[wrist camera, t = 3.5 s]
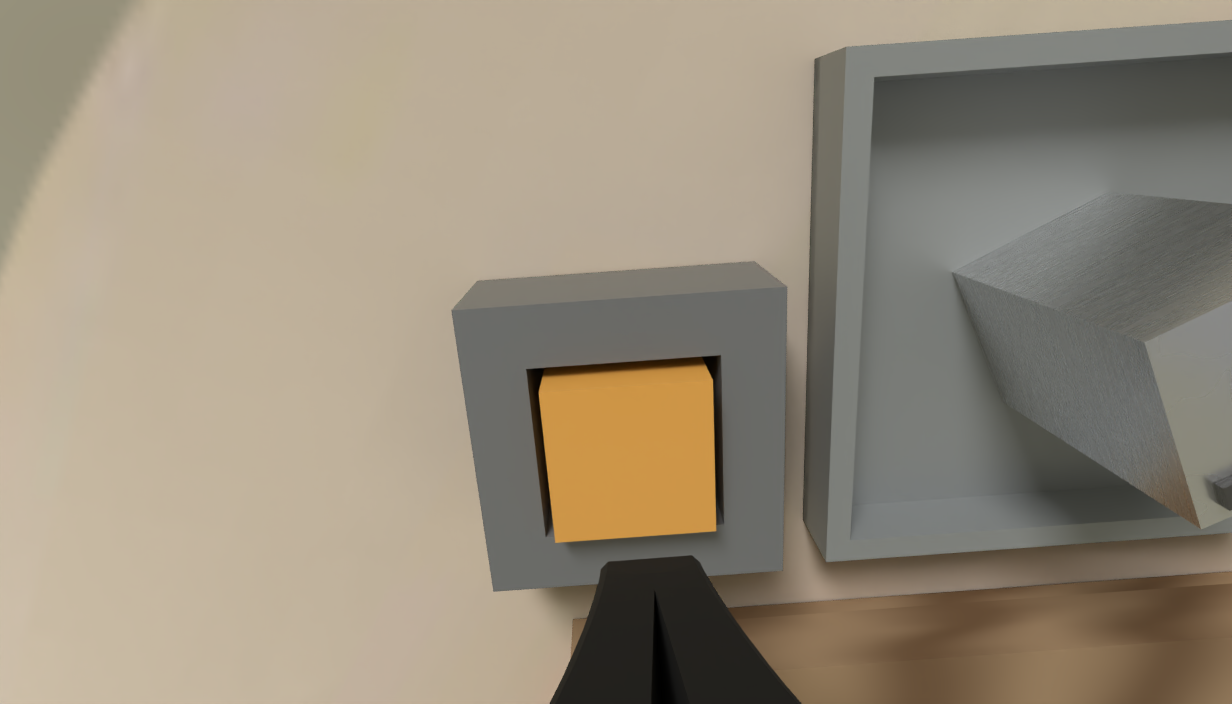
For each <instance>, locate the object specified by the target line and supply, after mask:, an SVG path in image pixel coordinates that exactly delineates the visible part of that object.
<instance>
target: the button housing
mask: <svg viewBox="0 0 1232 704" xmlns="http://www.w3.org/2000/svg"><path fill="white" fill-rule="evenodd" d="M452 317H453V324H454V331H455V337H456V344H457V351H458V357H459V364H460V371H461V377H462V384H463V391H464V397H465V404H466V411H467V418H468V424H469V431H470V438H471V444H472V451H473V458H474V464H475V471H476V478H477V484H478V491H479V498H480V504H481V511H482V518H483V525H484V531H485V538H486V545H487V551H488V558H489V565H490V571H491V578H492V585H493V591H494V592H495V591H509V590H523V589H536V588H550V587H564V586H578V585H592V584H598V582H599V577H600V571H601V568H602V567H603V566H604V565H605V564H606V563H607V562H609V561H622V560H635V559H648V558H661V557H675V556H688V555H692V556H693V557H695V558H696V559H697V560H698V561H699V562H700V563H701V565H702V567H703V569H704V571H705V573H706V575H707V576H716V575H730V574H744V573H758V572H772V571H783V528H784V463H785V397H786V331H787V286H786V285H784V284H783V283H782V282H781V281H779V280H778V279H777V278H775V277H774V276H773V275H771V274H770V273H769V272H767V271H766V270H765V269H764V268H762V267H761V266H760V265H758V264H757V263H756V262H754V261H753V262H739V263H725V264H711V265H697V266H683V267H669V268H654V269H640V270H626V271H612V272H598V273H584V274H570V275H555V276H541V277H527V278H513V279H499V280H485V281H477V282H476V283H475V284H474V285H473V286H472V288H471V289H470V290H469V291H468V292H467V293H466V294H465V296H464V297H463V298H462V299H461V300H460V301H459V302H458V304H457V305H456V306H455V307H454V308H453V309H452ZM688 357H702V359H703V361H704V363H705V365H706V367H707V369H708V371H709V373H710V375H711V377H712V379H713V406H714V452H715V498H716V531H712V532H698V533H685V534H671V535H657V536H643V537H629V538H615V539H601V540H587V541H573V542H560V543H555V536H554V527H553V518H552V509H551V500H550V491H549V482H548V473H547V464H546V455H545V446H544V437H543V428H542V419H541V410H540V401H539V389H540V385H541V381H542V377H543V368H547V367H561V366H575V365H589V364H603V363H617V362H631V361H645V360H659V359H673V358H688Z"/></svg>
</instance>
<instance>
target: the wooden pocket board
mask: <svg viewBox="0 0 1232 704" xmlns="http://www.w3.org/2000/svg"><path fill="white" fill-rule="evenodd" d="M728 610H729V611H730V613H731V614H732V616H733V617H734V618H735V620H736V621H737V623H738V624H739V625H740V627H741V628H742V630H743V631H744V632H745V634H746V635H747V636H748V638H749V639H750V640H751V642H752V643H753V644H754V645H755V647H756V648H757V649H758V651H759V652H760V653H761V655H762V656H763V657H764V659H765V660H766V661H767V662H768V664H769V665H770V666H771V668H772V669H773V670H774V671H775V672H776V674H777V675H778V676H779V677H780V679H781V680H782V681H783V682H784V683H785V685H786V686H787V687H788V688H789V689H790V691H791V692H792V693H793V694H794V695H795V696H796V697H797V699H798V700H799V701H800V702H801V703H802V704H1232V572H1220V573H1206V574H1192V575H1179V576H1165V577H1151V578H1137V579H1123V580H1110V581H1096V582H1082V583H1068V584H1054V585H1040V586H1027V587H1013V588H999V589H985V590H971V591H957V592H944V593H930V594H916V595H902V596H888V597H875V598H861V599H847V600H833V601H819V602H805V603H792V604H778V605H764V606H750V607H736V608H728ZM586 620H587V618H584V619H573V628H572V646H571V657H572V655H573V652H574V650H575V648H576V645H577V643H578V640H579V638H580V636H581V633H582V631H583V628H584V626H585V623H586Z"/></svg>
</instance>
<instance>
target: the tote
mask: <svg viewBox="0 0 1232 704" xmlns="http://www.w3.org/2000/svg"><path fill="white" fill-rule="evenodd" d="M1107 192H1114V193H1124V194H1134V195H1144V196H1155V197H1165V198H1175V199H1185V200H1196V201H1206V202H1216V203H1226V204H1232V20H1225V21H1211V22H1196V23H1182V24H1167V25H1153V26H1139V27H1124V28H1110V29H1096V30H1081V31H1067V32H1053V33H1038V34H1024V35H1010V36H995V37H981V38H967V39H952V40H938V41H924V42H909V43H895V44H881V45H866V46H852V47H845V48H842V49H840V50H837V51H834V52H832V53H829V54H827V55H824V56H821V57H819V58H816V59H815V71H814V110H813V149H812V187H811V226H810V265H809V304H808V342H807V381H806V420H805V459H804V497H803V520H804V522H805V524H806V526H807V528H808V530H809V532H810V533H811V535H812V537H813V539H814V541H815V543H816V545H817V546H818V548H819V550H820V552H821V554H822V556H823V557H824V559H825V561H826V562H835V561H849V560H862V559H876V558H890V557H904V556H918V555H932V554H946V553H959V552H973V551H987V550H1001V549H1015V548H1029V547H1043V546H1056V545H1070V544H1084V543H1098V542H1112V541H1126V540H1140V539H1153V538H1167V537H1181V536H1195V535H1209V534H1223V533H1232V516H1231V517H1229V518H1227V519H1224V520H1222V521H1220V522H1217V523H1215V524H1213V525H1211V526H1208V527H1206V528H1204V529H1200V528H1198V527H1197V526H1195V525H1193V524H1192V523H1190V522H1189V521H1187V520H1186V519H1184V518H1183V517H1181V516H1179V515H1178V514H1176V513H1175V512H1173V511H1172V510H1170V509H1169V508H1167V507H1165V506H1164V505H1162V504H1161V503H1159V502H1158V501H1156V500H1155V499H1153V498H1151V497H1150V496H1148V495H1147V494H1145V493H1144V492H1142V491H1141V490H1139V489H1137V488H1136V487H1134V486H1133V485H1131V484H1130V483H1128V482H1127V481H1125V480H1123V479H1122V478H1120V477H1119V476H1117V475H1116V474H1114V473H1113V472H1111V471H1109V470H1108V469H1106V468H1105V467H1103V466H1102V465H1100V464H1099V463H1097V462H1095V461H1094V460H1092V459H1091V458H1089V457H1088V456H1086V455H1085V454H1083V453H1081V452H1080V451H1078V450H1077V449H1075V448H1074V447H1072V446H1071V445H1069V444H1068V443H1066V442H1064V441H1063V440H1061V439H1060V438H1058V437H1057V436H1055V435H1054V434H1052V433H1050V432H1049V431H1047V430H1046V429H1044V428H1043V427H1041V426H1040V425H1038V424H1036V423H1035V422H1033V421H1032V420H1030V419H1029V418H1027V417H1026V416H1024V415H1022V414H1021V413H1019V412H1018V411H1016V410H1015V409H1013V408H1012V407H1010V406H1008V405H1007V404H1005V403H1004V402H1002V399H1001V397H1000V394H999V392H998V389H997V387H996V384H995V381H994V379H993V376H992V374H991V371H990V369H989V366H988V363H987V361H986V358H985V356H984V353H983V351H982V348H981V345H980V343H979V340H978V338H977V335H976V333H975V330H974V327H973V325H972V322H971V320H970V317H969V315H968V312H967V309H966V307H965V304H964V302H963V299H962V297H961V294H960V291H959V289H958V286H957V284H956V281H955V279H954V276H953V273H952V271H954V270H956V269H958V268H960V267H962V266H964V265H966V264H968V263H970V262H972V261H974V260H976V259H978V258H980V257H982V256H984V255H986V254H988V253H990V252H991V251H993V250H995V249H997V248H999V247H1001V246H1003V245H1005V244H1007V243H1009V242H1011V241H1013V240H1015V239H1017V238H1019V237H1021V236H1023V235H1025V234H1027V233H1029V232H1031V231H1033V230H1035V229H1037V228H1038V227H1040V226H1042V225H1044V224H1046V223H1048V222H1050V221H1052V220H1054V219H1056V218H1058V217H1060V216H1062V215H1064V214H1066V213H1068V212H1070V211H1072V210H1074V209H1076V208H1078V207H1080V206H1082V205H1084V204H1085V203H1087V202H1089V201H1091V200H1093V199H1095V198H1097V197H1099V196H1101V195H1103V194H1105V193H1107Z"/></svg>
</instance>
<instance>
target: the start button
mask: <svg viewBox="0 0 1232 704" xmlns="http://www.w3.org/2000/svg"><path fill="white" fill-rule="evenodd" d="M539 401H540V410H541V419H542V428H543V437H544V446H545V455H546V464H547V473H548V482H549V491H550V500H551V509H552V518H553V527H554V536H555V543H560V542H573V541H587V540H601V539H615V538H629V537H643V536H657V535H671V534H685V533H698V532H712V531H716V498H715V452H714V406H713V379H712V377H711V375H710V373H709V371H708V369H707V367H706V365H705V363H704V361H703V359H702V357H688V358H673V359H659V360H645V361H631V362H617V363H603V364H589V365H575V366H561V367H547V368H544V373H543V377H542V381H541V385H540V389H539Z"/></svg>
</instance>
